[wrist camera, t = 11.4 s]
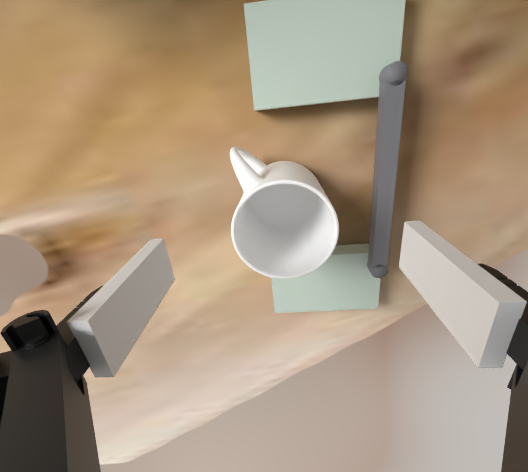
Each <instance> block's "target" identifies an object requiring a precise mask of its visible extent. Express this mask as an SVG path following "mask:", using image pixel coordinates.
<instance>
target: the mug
mask: <svg viewBox="0 0 528 472" xmlns="http://www.w3.org/2000/svg"><path fill="white" fill-rule="evenodd" d="M230 158H231V162H232V165H233V168H234V171H235V173H236V176H237V178H238V180H239V182H240V184H241V186H242V189H243V191H244V194H243V196H242V198H241V200H240V202H239V204H238V206H237V208H236V210H235V213H234V216H233V219H232V225H231V235H232V240H233V244H234V247H235V249H236V251H237V253H238V254H239V256H240V257H241V259H242V260H243V261H244V262H245V263H246V264H247V265H248V266H249V267H250V268H252V269H253V270H255V271H256V272H258V273H260V274H262V275H265V276H268V277H271V278H276V279H293V278H298V277H302V276H305V275H307V274H309V273H311V272H313V271H315V270H316V269H318V268H319V267H321V266H322V265H323V264H324V263H325V262H326V261H327V260H328V259H329V257H330V256H331V254H332V253H333V251H334V249H335V246H336V244H337V241H338V235H339V223H338V218H337V214H336V212H335V209H334V207H333V206H332V204H331V202H330V201H329V199H328V197H327V195H326V194H325V192H324V190H323V189H322V187H321V185H320V184H319V182H318V180H317V178H316V177H315V176H314V175H313V173H312V172H311V171H309V170H308V169H307V168H306V167H304V166H302V165H300V164H298V163H295V162H291V161H278V162H274V163H271V164H268V165H266V164H264V163H263V162H262V161H261V160H259V159H258V158H257V157H255V156H254V155H253V154H251V153H250V152H248V151H246V150H244V149H242V148H240V147H232V148H231V150H230Z"/></svg>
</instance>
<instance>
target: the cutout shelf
mask: <svg viewBox="0 0 528 472" xmlns="http://www.w3.org/2000/svg"><path fill="white" fill-rule="evenodd" d="M405 1H406V0H266V1H259V2H252V3H245V4H244V13H245V23H246V33H247V43H248V53H249V62H250V72H251V82H252V92H253V102H254V110H255V111H260V110H269V109H278V108H287V107H296V106H305V105H314V104H324V103H333V102H342V101H351V100H360V99H369V98H379V101H378V116H377V131H376V146H375V161H374V177H373V192H372V207H371V222H370V238H369V243H365V244H349V245H336V246H335V249H334V251H333V253H332V254H331V256H330V257H329V259H328V260H327V261H326V262H325V263H324V264H323V265H322V266H321V267H319V268H318V269H316V270H315V271H313V272H311V273H309V274H307V275H305V276H302V277H298V278H293V279H276V278H271V280H272V290H273V300H274V310H275V313H286V312H310V311H335V310H359V309H378V302H379V290H380V279H381V278H382V277H384V276H385V275H386V274H387V272H388V268H387V265H388V255H389V245H390V235H391V225H392V215H393V205H394V195H395V185H396V175H397V165H398V155H399V145H400V134H401V124H402V114H403V104H404V94H405V84H406V80H405V79H406V77H407V75H408V68H407V65H406V64H405V63H404V62H402V61H400V56H401V45H402V34H403V23H404V12H405Z"/></svg>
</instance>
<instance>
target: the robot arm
mask: <svg viewBox="0 0 528 472" xmlns="http://www.w3.org/2000/svg"><path fill="white" fill-rule="evenodd" d="M399 268H400V269H401V270H402V272H403V273H404V274H405V275H406V277H407V278H408V279H409V281H410V282H411V283H412V284H413V286H414V287H415V288H416V289H417V291H418V292H419V293H420V295H421V296H422V297H423V298H424V300H425V301H426V302H427V303H428V305H429V306H430V307H431V309H432V310H433V311H434V312H435V314H436V315H437V316H438V317H439V319H440V320H441V321H442V323H443V324H444V325H445V326H446V328H447V329H448V330H449V331H450V333H451V334H452V335H453V337H454V338H455V339H456V340H457V342H458V343H459V344H460V345H461V347H462V348H463V349H464V350H465V352H466V353H467V354H468V356H469V357H470V358H471V359H472V361H473V362H474V363H475V365H476V366H477V367H478V368H496V367H497V368H498V367H503V364H504V361H505V359H506V355H507V354H508V355H509V356H510V357H511V358H512V359H513V360H514V361H515V362H516V363H517V365H516V367H515V370H514V372H513V375H512V377H511V380H510V382H509V385H508V388H509V389H511V397H510V406H509V414H508V422H507V429H506V438H505V446H504V454H503V462H502V470H501V472H528V292H527V291H526V290H524V289H523V288H521V287H520V286H517V284H516V283H514V282H513V281H512V280H510V279H508V278H507V277H506V276H505V275H503V274H502V273H500V272H499V271H498V270H496V269H493V268H491V267H489V266H487V265H484V264H477V263H475V262H474V261H473V260H471V259H470V258H469V257H467V256H466V255H465V254H463V253H462V252H461V251H459V250H458V249H457V248H455V247H454V246H453V245H451V244H450V243H449V242H447V241H446V240H445V239H443V238H442V237H441V236H439V235H438V234H437V233H436V232H434V231H433V230H432V229H430V228H429V227H428V226H426V225H425V224H424V223H422V222H421V221H406V222H404V229H403V237H402V245H401V253H400V261H399ZM174 280H175V278H174V274H173V270H172V267H171V263H170V260H169V256H168V252H167V249H166V245H165V242H164V238H163V239H151V240H150V241H149V242H148V243H146V244H145V245H144V246H143V247H142V248H141V249H140V250H139V251H138V252H137V253H136V254H135V255H134V256H133V257H132V258H131V259H130V260H129V261H128V262H127V263H126V264H125V265H124V266H123V267H122V268H121V269H120V270H119V271H118V272H117V273H116V274H115V275H114V276H113V277H112V278H111V279H110V280H109V281H108V282H107V283H106V284H105V285H104V286H101V287H99V288H98V289H96V290H95V291H93V292H91V293H90V294H89V295H88V296H87V297H86V298H85V299H84V300H83V302H81V303H80V304H79V305H78V306H77V308H75V309H73V310H72V311H71V312H70V313H69V314H68V315H67V316H66V317H65V318H64V319H63V320H62V321H61V322H60V323H59V324H58V325H57V326H56V325H55V323H54V321H53V319H52V317H51V315H50V313H49V312H48V311H45V310H39V311H34V312H31V313H27V314H25V315H23V316H21V317H18V318H17V319H15V320H13V321H12V322H10V323H9V324H8V325H7V326H5V327H4V328H3V330H2V331H1V335H2V336H3V338H4V339H5V341H6V342H7V344H8V345H9V347H10V348H11V350H12V351H8V352H4V353H0V472H101V471H100V465H99V458H98V452H97V446H96V439H95V433H94V427H93V420H92V414H91V408H90V401H89V395H88V389H87V383H86V380H85V378H84V376H83V375H84V373H85V372H86V371H87V369H88V368H89V367H90V368H91V370H92V372H93V374H94V376H95V377H114V376H115V375H116V373H117V371H118V370H119V368H120V367H121V365H122V363H123V362H124V360H125V359H126V357H127V355H128V354H129V352H130V351H131V349H132V347H133V346H134V344H135V343H136V341H137V339H138V338H139V336H140V335H141V333H142V331H143V330H144V328H145V327H146V325H147V323H148V322H149V320H150V319H151V317H152V315H153V314H154V312H155V311H156V309H157V307H158V306H159V304H160V303H161V301H162V299H163V298H164V296H165V295H166V293H167V291H168V290H169V288H170V287H171V285H172V283H173V282H174Z"/></svg>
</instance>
